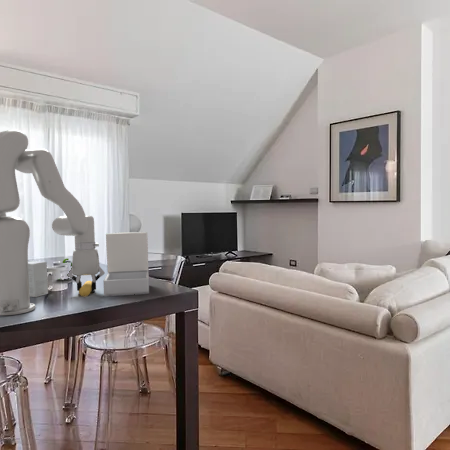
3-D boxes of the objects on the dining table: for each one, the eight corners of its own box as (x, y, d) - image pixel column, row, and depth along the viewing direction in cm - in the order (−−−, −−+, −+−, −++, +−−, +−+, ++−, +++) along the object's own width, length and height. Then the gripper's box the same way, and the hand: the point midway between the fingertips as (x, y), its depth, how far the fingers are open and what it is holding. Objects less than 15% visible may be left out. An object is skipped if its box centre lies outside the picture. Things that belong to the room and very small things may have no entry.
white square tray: (149, 293, 153) (148, 278, 152) (104, 296, 149) (103, 280, 149) (148, 285, 169) (148, 271, 169) (108, 287, 166) (107, 273, 166)
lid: (147, 232, 166) (147, 231, 168) (105, 233, 162) (106, 232, 164) (148, 272, 169) (148, 270, 171) (107, 274, 166) (108, 272, 168)
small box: (48, 294, 156) (47, 261, 155) (35, 297, 150) (33, 264, 149) (34, 292, 159) (32, 260, 158) (20, 296, 153) (18, 263, 152)
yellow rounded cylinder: (89, 297, 151) (90, 286, 151) (78, 296, 150) (79, 286, 150) (93, 290, 162) (94, 281, 162) (83, 289, 162) (84, 280, 162)
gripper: (107, 244, 161) (109, 288, 162) (64, 246, 157) (66, 291, 158) (106, 246, 153) (107, 292, 154) (60, 248, 150) (62, 295, 151)
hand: (86, 291), depth 156 cm, fingers open, 4 cm apart
